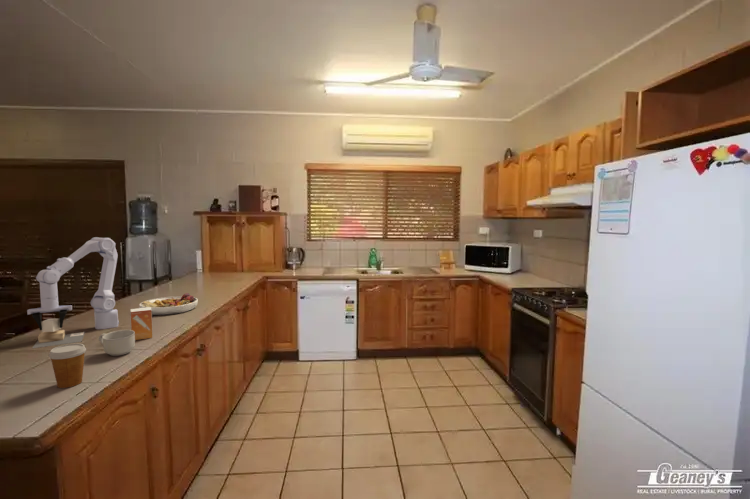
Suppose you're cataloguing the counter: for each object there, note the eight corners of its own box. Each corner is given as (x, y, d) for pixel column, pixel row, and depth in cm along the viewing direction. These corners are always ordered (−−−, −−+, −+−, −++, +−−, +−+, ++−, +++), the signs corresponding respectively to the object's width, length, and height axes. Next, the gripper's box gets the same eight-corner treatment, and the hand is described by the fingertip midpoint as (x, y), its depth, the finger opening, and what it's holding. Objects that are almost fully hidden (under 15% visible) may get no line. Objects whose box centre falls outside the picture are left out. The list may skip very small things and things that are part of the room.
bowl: (166, 318, 204) (166, 304, 203) (127, 313, 215) (126, 299, 214) (209, 306, 232) (208, 294, 231) (172, 302, 243) (172, 290, 242)
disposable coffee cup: (64, 378, 128) (62, 343, 127) (94, 377, 129) (92, 342, 128) (42, 390, 119) (40, 353, 118) (75, 389, 120) (72, 352, 119)
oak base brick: (65, 336, 170) (64, 329, 170) (63, 339, 165) (62, 333, 165) (41, 339, 166) (41, 332, 166) (38, 343, 161) (38, 336, 161)
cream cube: (60, 328, 168) (60, 318, 167) (53, 331, 163) (52, 321, 163) (50, 328, 167) (49, 318, 167) (41, 331, 163) (41, 321, 162)
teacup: (142, 350, 155) (141, 331, 155) (116, 359, 145) (115, 339, 144) (117, 346, 160) (116, 327, 159) (90, 355, 150) (89, 335, 149)
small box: (131, 341, 167) (130, 311, 166) (131, 337, 172) (129, 308, 171) (153, 338, 171) (151, 309, 170) (152, 334, 176) (150, 306, 175)
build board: (85, 333, 176) (85, 331, 176) (81, 343, 163) (81, 341, 163) (39, 339, 168) (39, 337, 168) (32, 350, 154) (31, 348, 154)
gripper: (71, 294, 171) (73, 323, 172) (28, 297, 163) (30, 328, 164) (70, 296, 165) (72, 327, 167) (25, 300, 157) (27, 332, 158)
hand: (51, 328), depth 165 cm, fingers closed on cream cube, 6 cm apart
